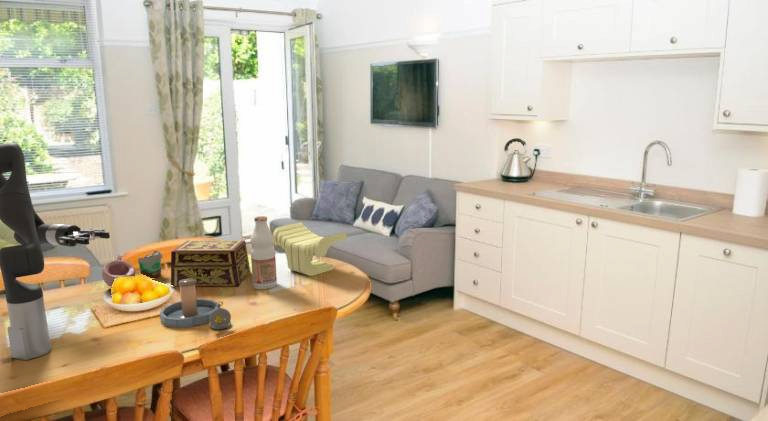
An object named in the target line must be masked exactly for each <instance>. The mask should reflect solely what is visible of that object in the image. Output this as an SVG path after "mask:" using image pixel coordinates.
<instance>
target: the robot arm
mask: <svg viewBox="0 0 768 421" xmlns="http://www.w3.org/2000/svg"><path fill="white" fill-rule="evenodd" d="M7 173H10V175H9V177H8V178H6V177H5V176H4V175H3V174H7ZM0 221H1V222H2V223H3V224H4V226H6V227H7V228H9V230H11V231H13V232H14V233H13V238H14V240H15V241H16V243H18V244H19V245H10V246H4V247H2V248H0V274H1V276H2V281H3V287H4V293H5V301H6V307H7V314H8V319H9V326H8V327H7V329H6V330H7V335H8V341H9V349H10V352H11V353H10V354H11V358H13V359H16V360H17V359H18V360H23V361H28V360H30V359H32V360H33V359H35V358H38V357H39V358H40V357H41V356H44V355H46V354H49V352H50V351H51V350H52V348H51V347H52V346H51V339H50V334H49V327H48V319H47V314H46V307H45V299H44V293H43V287H42V286H41V285H39V284H36V283H27V282H23V281H20V280H18V279H17V278H22V277H27V276H28V277H29V276H36V275H38V274H41V273H42V272H43V271H44V269H45V259H44V258H45V257H44V254H43V251H42V249H43V248H42V246H41V245H44V244H50V245H55V246H61V247H71V248H72V247H77V246H79V245H86V246H87V245H89V244H90V241H94V240H95V239H105V240H106V239H107V240H108V239H110V236H111V235H110V232H108V231H106V230H105V229H104V228H94V227H93V228H90V229H81V228H80V226H78V225H76V224H67V223H66V224H65V223H64V224H63V223H57V224H54V223H46V222H44V220H43V219H42V218H41V217H40V216H39V215H38V214H37V212H36V211H35V208H34V206H33V202H32V198H31V193H30V189H29V184H28V180H27V171H26V161H25V155H24V152H23V149H22V147H21V146H20V145H19V144H18V143H15V142H8V143H2V144H1V143H0Z"/></svg>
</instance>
